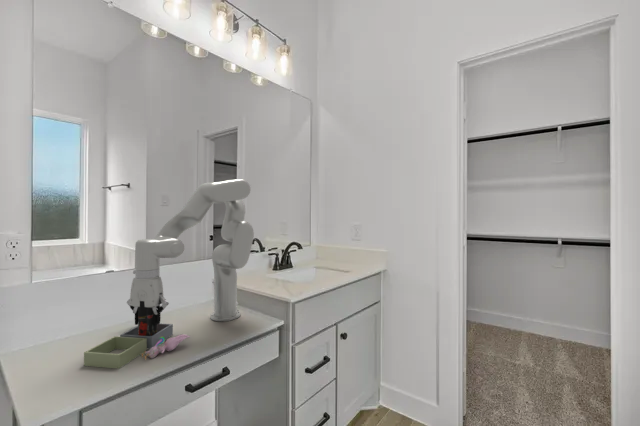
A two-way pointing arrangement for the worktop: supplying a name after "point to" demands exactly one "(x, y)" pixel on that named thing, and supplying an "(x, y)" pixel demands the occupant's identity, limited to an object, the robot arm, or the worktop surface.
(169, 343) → the pink toy figurine
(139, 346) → the bin
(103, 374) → the worktop surface
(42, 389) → the worktop surface
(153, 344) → the bin
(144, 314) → the deodorant
